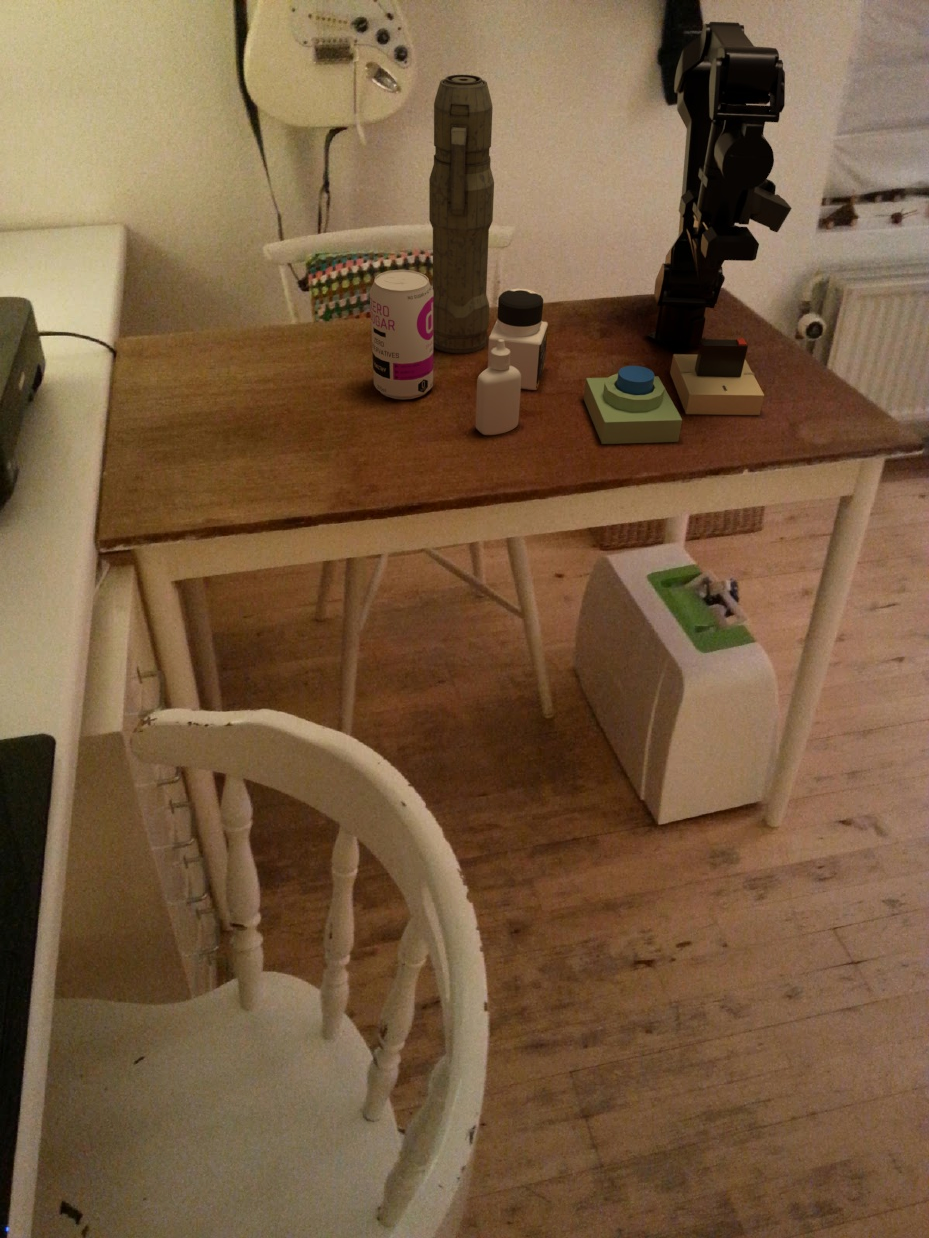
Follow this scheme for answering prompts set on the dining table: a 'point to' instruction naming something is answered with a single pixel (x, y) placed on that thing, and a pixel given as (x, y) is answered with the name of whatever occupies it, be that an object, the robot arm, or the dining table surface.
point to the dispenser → (631, 413)
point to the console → (715, 390)
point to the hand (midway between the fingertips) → (704, 290)
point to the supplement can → (402, 333)
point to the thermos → (461, 213)
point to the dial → (721, 357)
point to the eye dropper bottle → (498, 394)
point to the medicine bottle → (522, 334)
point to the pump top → (635, 380)
